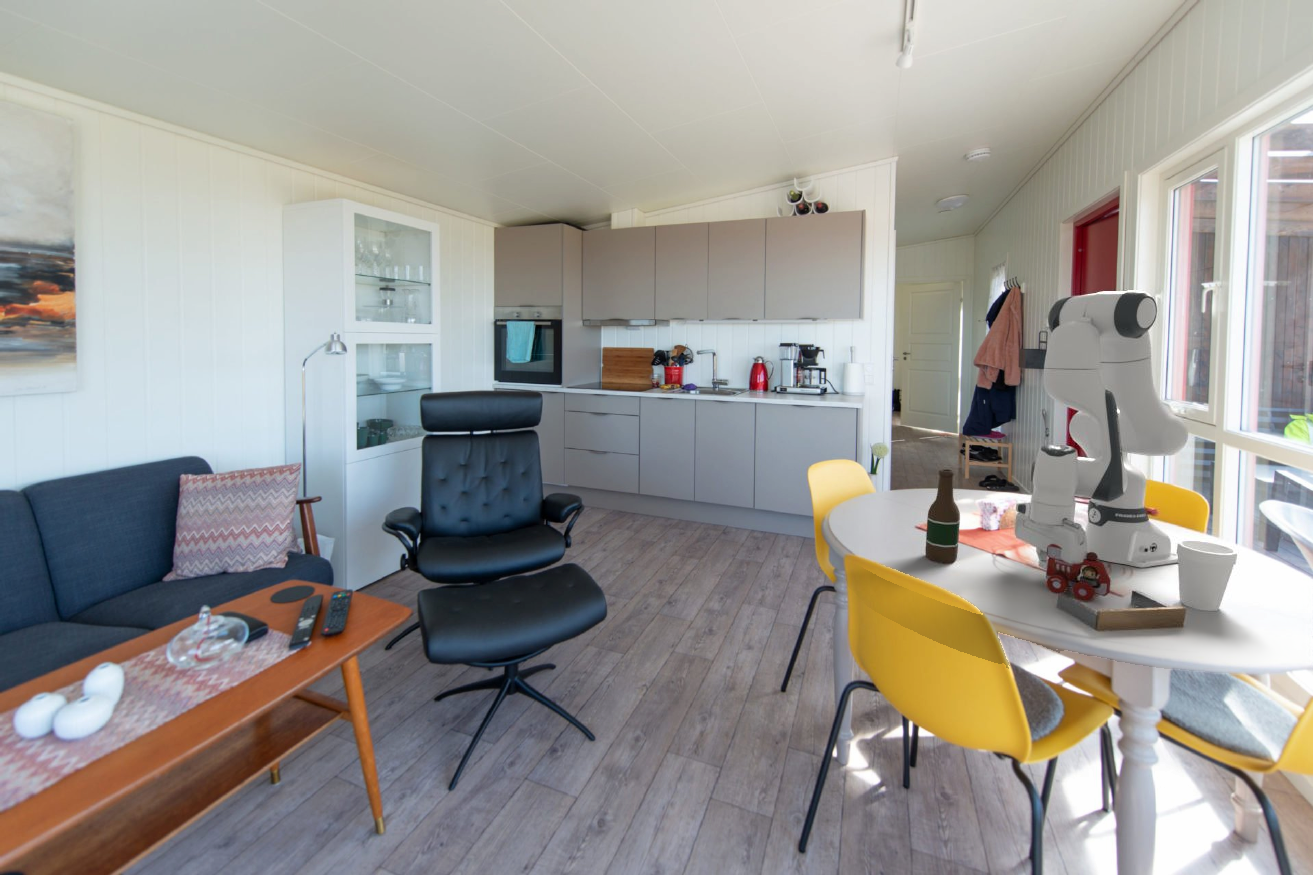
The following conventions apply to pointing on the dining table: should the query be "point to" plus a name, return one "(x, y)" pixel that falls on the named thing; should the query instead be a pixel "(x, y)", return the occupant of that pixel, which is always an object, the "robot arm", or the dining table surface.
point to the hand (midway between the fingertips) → (1046, 568)
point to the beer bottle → (943, 522)
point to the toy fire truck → (1076, 575)
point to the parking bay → (1126, 614)
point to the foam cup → (1204, 573)
